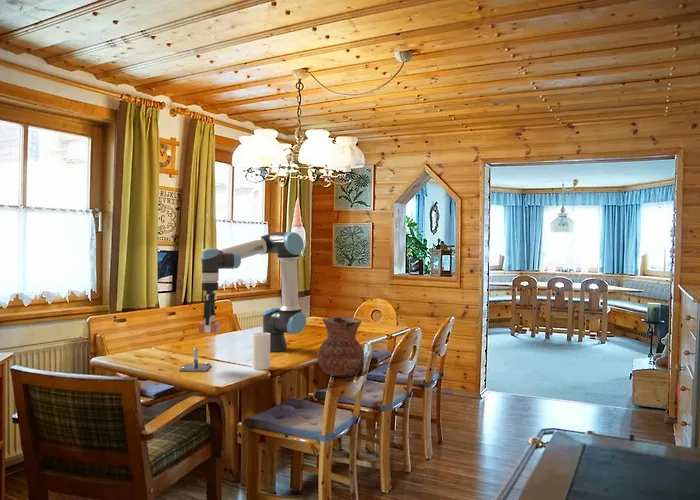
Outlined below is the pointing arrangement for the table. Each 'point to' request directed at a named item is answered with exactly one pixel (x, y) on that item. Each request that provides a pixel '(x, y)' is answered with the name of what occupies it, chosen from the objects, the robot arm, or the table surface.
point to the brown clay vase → (341, 347)
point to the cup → (261, 351)
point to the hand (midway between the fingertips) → (209, 330)
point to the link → (214, 327)
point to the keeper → (195, 365)
